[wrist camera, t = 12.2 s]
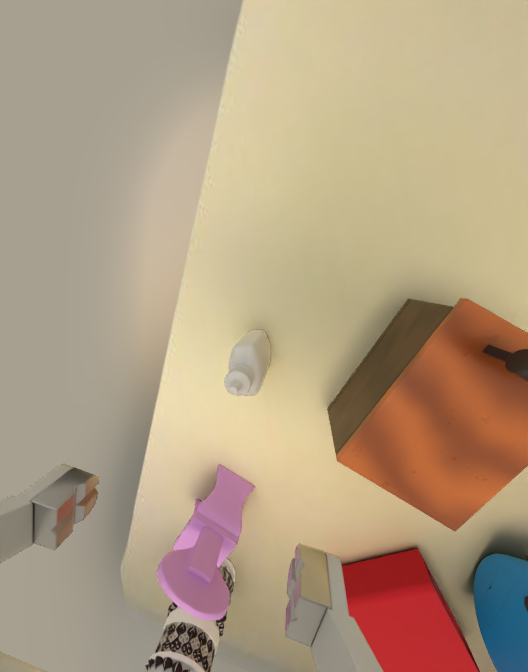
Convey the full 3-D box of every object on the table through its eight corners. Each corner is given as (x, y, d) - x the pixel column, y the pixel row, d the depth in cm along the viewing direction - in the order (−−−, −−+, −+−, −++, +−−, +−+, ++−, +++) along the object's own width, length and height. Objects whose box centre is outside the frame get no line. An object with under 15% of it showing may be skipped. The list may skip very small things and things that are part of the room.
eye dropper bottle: (234, 361, 33) (197, 405, 21) (252, 324, 31) (222, 350, 20) (264, 376, 33) (242, 428, 21) (282, 339, 31) (270, 374, 20)
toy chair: (189, 498, 39) (122, 625, 25) (213, 460, 37) (155, 576, 22) (233, 526, 39) (192, 670, 25) (260, 490, 37) (233, 626, 22)
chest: (408, 298, 28) (453, 306, 19) (506, 355, 28) (596, 388, 19) (327, 409, 32) (335, 454, 24) (411, 458, 32) (450, 523, 24)
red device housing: (464, 636, 37) (488, 690, 32) (372, 649, 40) (381, 699, 35) (416, 545, 35) (434, 587, 30) (323, 567, 38) (325, 608, 33)
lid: (460, 297, 19) (513, 303, 14) (605, 380, 19) (708, 414, 14) (335, 455, 24) (344, 499, 19) (450, 523, 23) (488, 586, 19)
